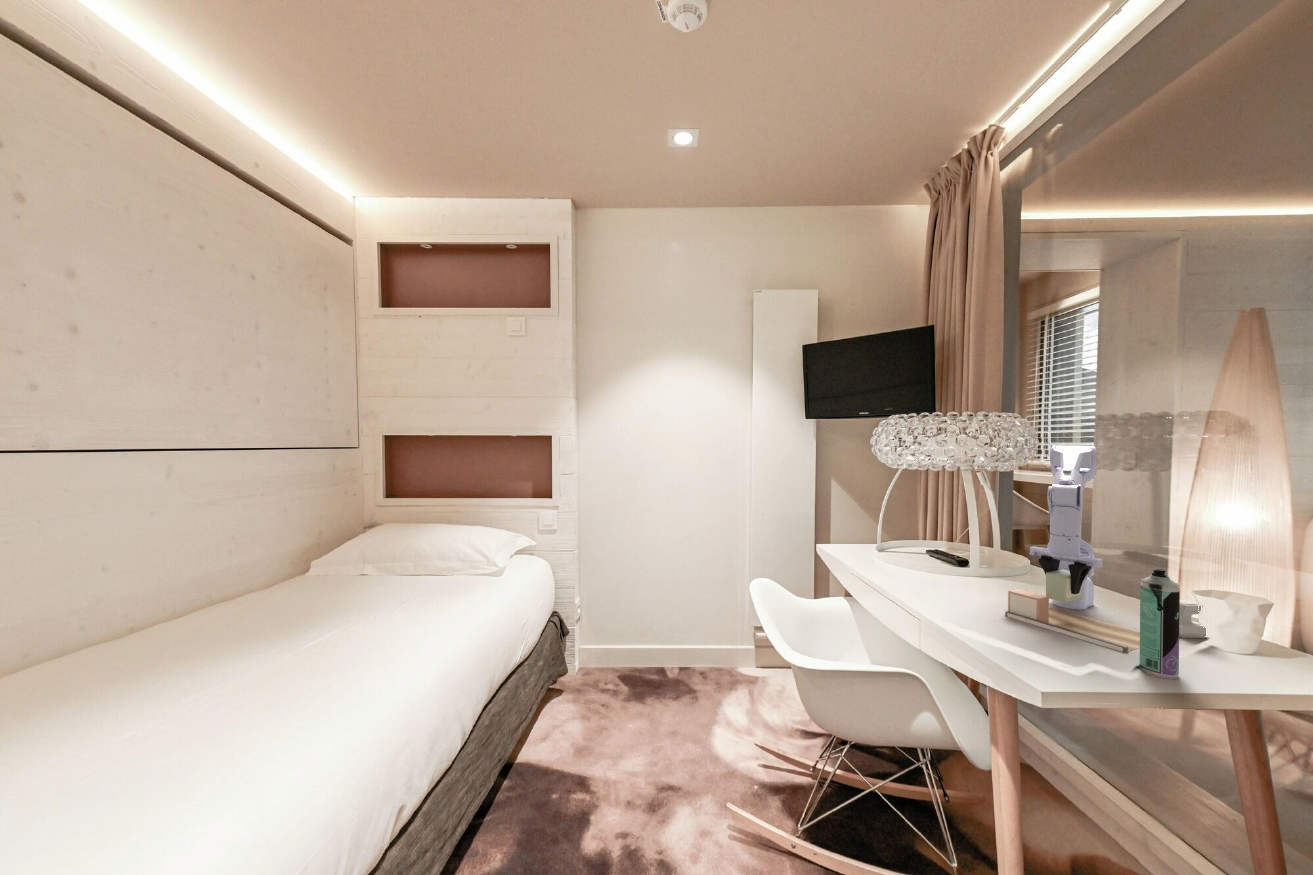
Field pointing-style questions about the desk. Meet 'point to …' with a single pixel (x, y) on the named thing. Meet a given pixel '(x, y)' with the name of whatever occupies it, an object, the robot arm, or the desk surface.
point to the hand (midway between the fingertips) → (1064, 590)
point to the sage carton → (1060, 586)
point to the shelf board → (1095, 628)
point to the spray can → (1159, 625)
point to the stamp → (1190, 621)
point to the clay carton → (1029, 604)
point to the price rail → (1068, 632)
